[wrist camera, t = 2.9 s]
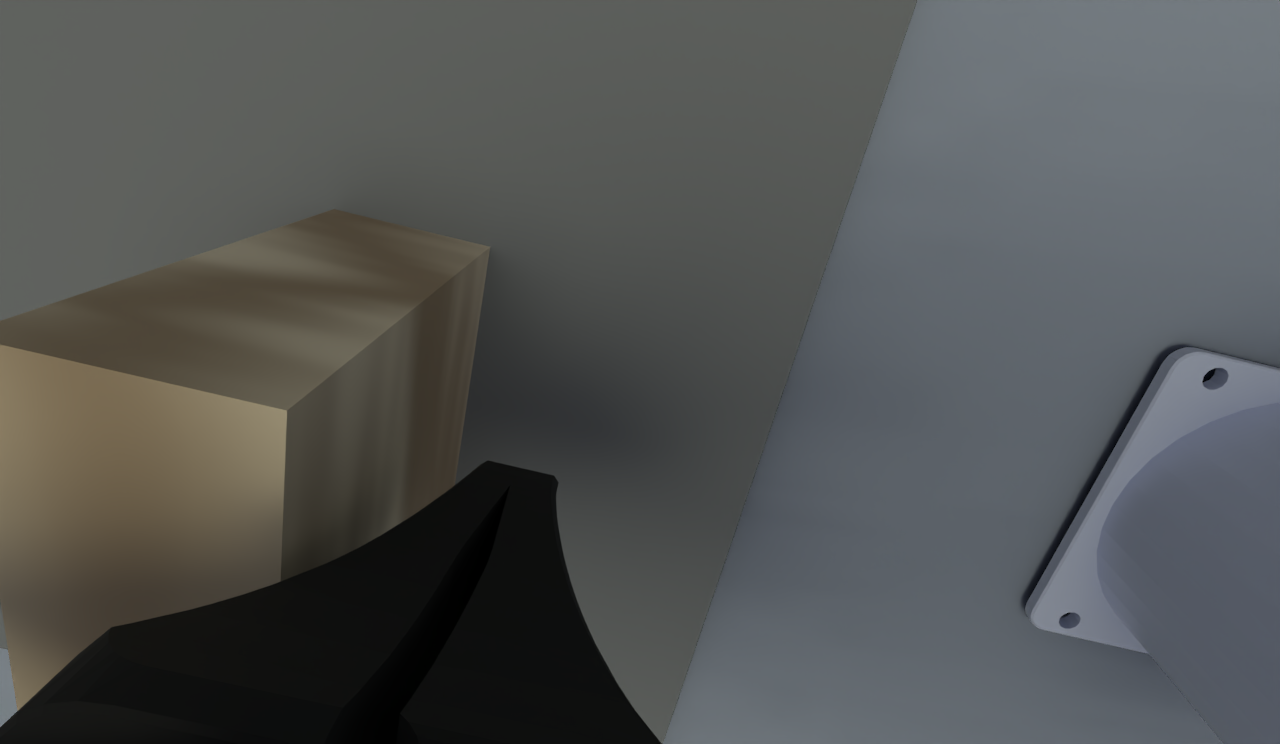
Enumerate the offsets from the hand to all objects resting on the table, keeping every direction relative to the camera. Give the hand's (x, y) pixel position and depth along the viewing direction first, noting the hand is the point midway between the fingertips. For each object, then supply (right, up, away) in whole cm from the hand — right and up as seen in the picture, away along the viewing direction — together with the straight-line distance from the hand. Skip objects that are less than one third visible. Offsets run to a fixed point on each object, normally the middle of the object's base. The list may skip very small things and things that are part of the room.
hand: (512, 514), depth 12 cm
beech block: (-3, +3, +4) cm, 6 cm away
